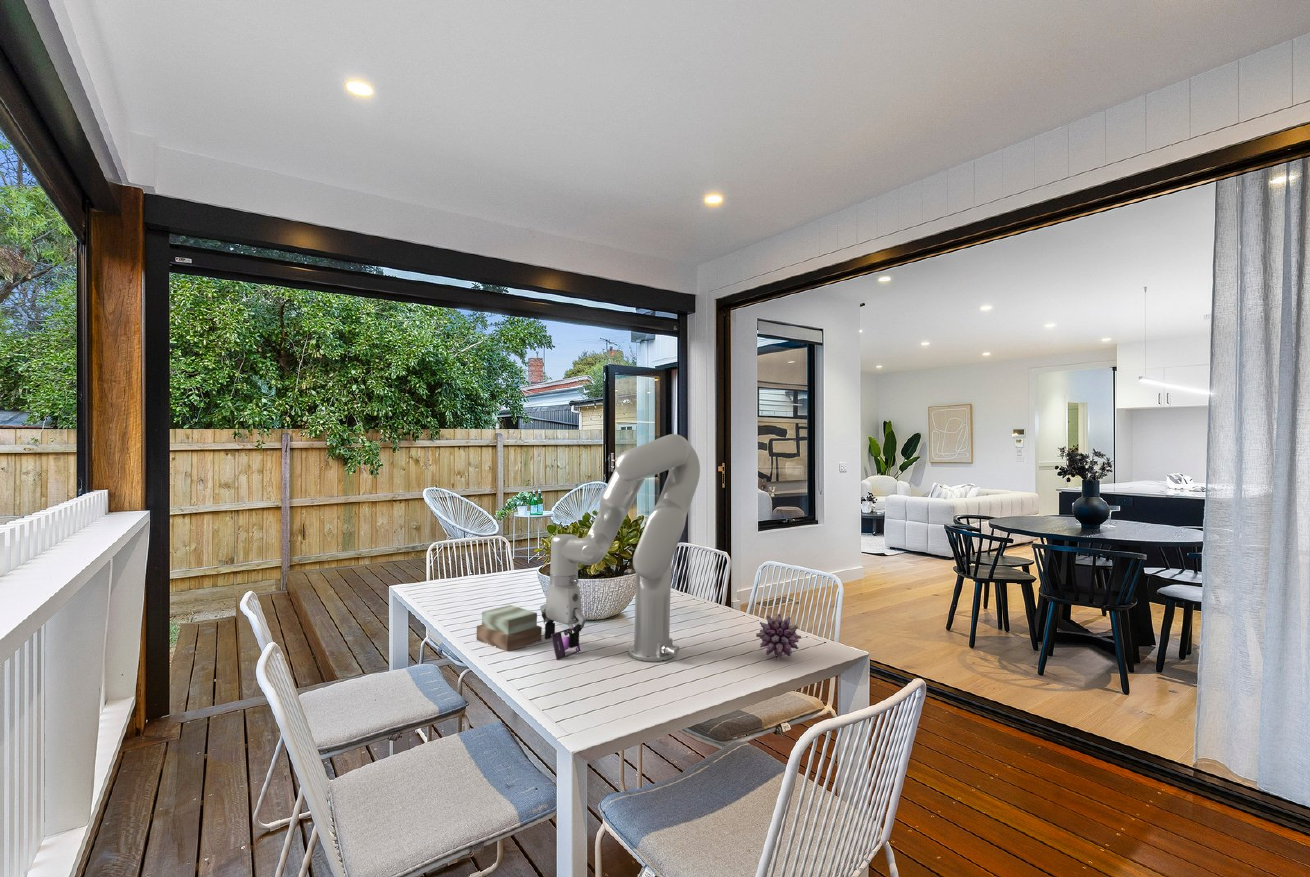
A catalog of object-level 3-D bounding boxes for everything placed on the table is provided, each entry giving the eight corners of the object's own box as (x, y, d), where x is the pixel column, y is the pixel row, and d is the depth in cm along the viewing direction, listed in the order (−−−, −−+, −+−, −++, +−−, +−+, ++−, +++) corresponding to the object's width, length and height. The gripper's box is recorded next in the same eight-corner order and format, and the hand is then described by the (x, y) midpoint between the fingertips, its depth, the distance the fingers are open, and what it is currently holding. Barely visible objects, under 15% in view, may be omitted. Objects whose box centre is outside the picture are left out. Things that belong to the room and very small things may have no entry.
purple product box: (553, 633, 166) (577, 626, 174) (540, 636, 169) (563, 628, 176) (559, 659, 165) (582, 650, 172) (545, 662, 168) (569, 653, 175)
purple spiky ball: (786, 669, 162) (787, 623, 162) (747, 657, 170) (748, 613, 170) (808, 658, 171) (809, 614, 171) (770, 647, 179) (771, 605, 179)
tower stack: (541, 640, 181) (542, 612, 181) (507, 651, 171) (507, 621, 171) (510, 630, 189) (511, 603, 189) (476, 639, 180) (477, 611, 180)
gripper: (595, 583, 171) (593, 646, 171) (553, 572, 182) (550, 632, 182) (575, 588, 165) (573, 653, 165) (532, 576, 176) (530, 638, 176)
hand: (561, 642), depth 173 cm, fingers open, 9 cm apart
